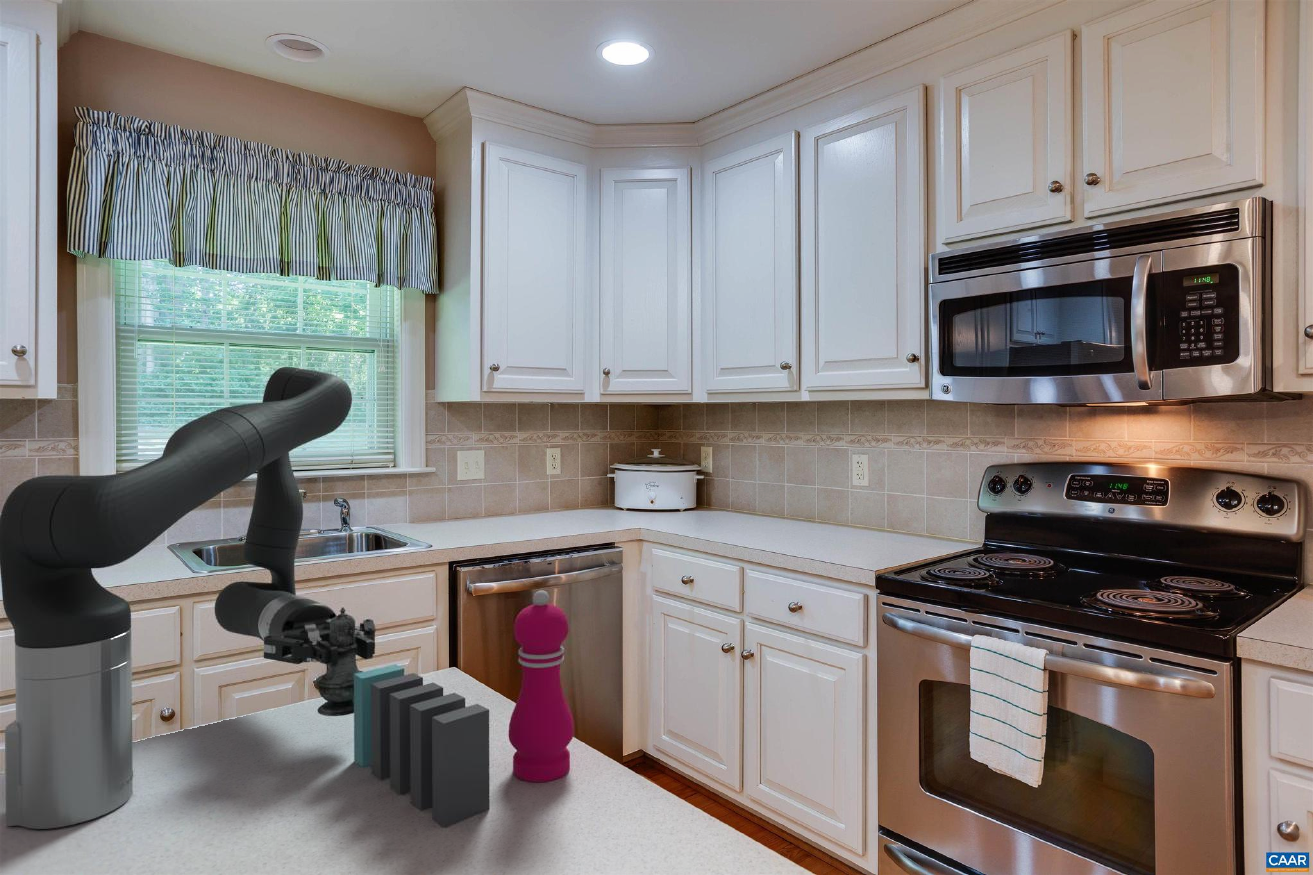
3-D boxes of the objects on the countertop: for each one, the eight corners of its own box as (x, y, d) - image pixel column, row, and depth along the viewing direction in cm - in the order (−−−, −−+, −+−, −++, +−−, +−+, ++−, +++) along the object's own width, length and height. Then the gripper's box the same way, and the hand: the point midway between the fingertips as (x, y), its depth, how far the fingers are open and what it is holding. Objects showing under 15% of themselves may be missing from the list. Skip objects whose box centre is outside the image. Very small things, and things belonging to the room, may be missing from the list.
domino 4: (410, 803, 76) (410, 705, 76) (454, 786, 80) (454, 692, 79) (421, 810, 74) (420, 710, 74) (465, 793, 78) (465, 697, 78)
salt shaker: (331, 721, 85) (332, 615, 85) (305, 709, 89) (305, 607, 89) (378, 706, 90) (379, 606, 90) (351, 695, 93) (352, 599, 93)
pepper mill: (587, 765, 85) (587, 588, 84) (545, 791, 78) (544, 600, 78) (538, 750, 88) (538, 581, 88) (494, 774, 82) (494, 592, 82)
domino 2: (371, 774, 82) (370, 683, 82) (414, 759, 86) (413, 673, 86) (380, 780, 81) (379, 688, 81) (423, 765, 84) (422, 677, 84)
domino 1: (354, 761, 86) (353, 673, 85) (395, 748, 89) (395, 664, 89) (362, 767, 84) (362, 678, 84) (404, 753, 88) (404, 668, 87)
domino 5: (432, 819, 73) (432, 717, 73) (477, 801, 76) (477, 703, 76) (444, 828, 71) (443, 723, 71) (489, 809, 75) (489, 709, 75)
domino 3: (390, 788, 79) (389, 693, 79) (433, 772, 83) (433, 682, 83) (399, 795, 78) (399, 699, 78) (443, 779, 81) (443, 687, 81)
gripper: (239, 606, 94) (289, 632, 82) (351, 591, 104) (410, 612, 92) (238, 666, 94) (288, 700, 82) (350, 645, 104) (409, 673, 92)
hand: (352, 653), depth 87 cm, fingers closed on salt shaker, 3 cm apart
